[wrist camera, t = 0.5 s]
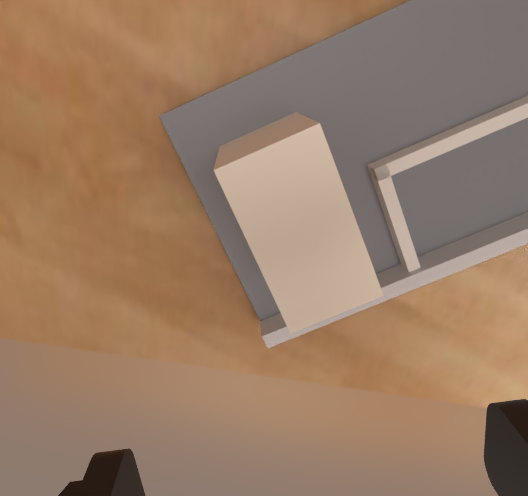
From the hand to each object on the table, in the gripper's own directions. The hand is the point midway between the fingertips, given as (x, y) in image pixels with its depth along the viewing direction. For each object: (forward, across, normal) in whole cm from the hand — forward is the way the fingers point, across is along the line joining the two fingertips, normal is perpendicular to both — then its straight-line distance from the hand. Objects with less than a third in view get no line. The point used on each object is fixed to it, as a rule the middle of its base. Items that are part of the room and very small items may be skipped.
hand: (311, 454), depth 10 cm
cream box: (+20, -1, -1) cm, 20 cm away
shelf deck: (+22, -8, -2) cm, 23 cm away
